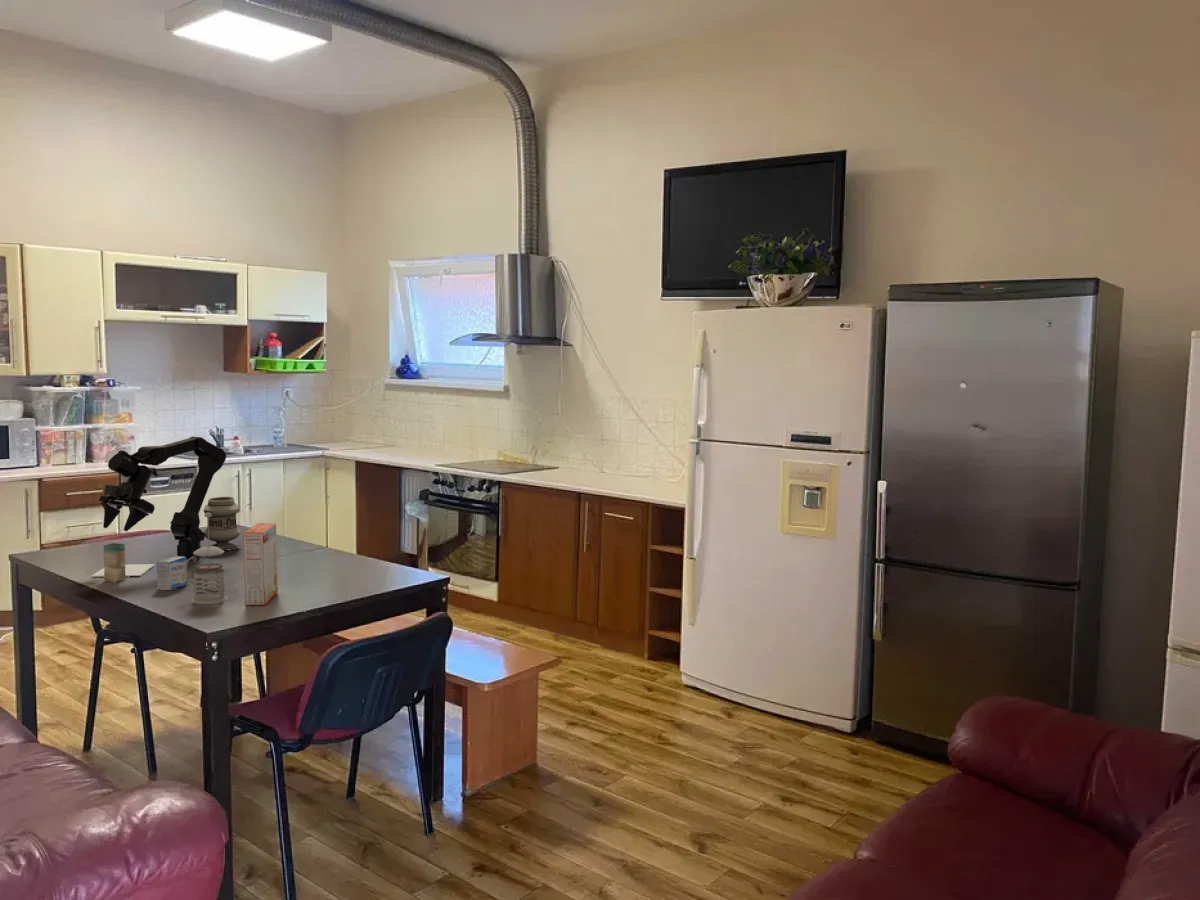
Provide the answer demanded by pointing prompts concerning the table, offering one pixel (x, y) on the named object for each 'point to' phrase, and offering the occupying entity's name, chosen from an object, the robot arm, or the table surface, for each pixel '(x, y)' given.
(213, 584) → the french press
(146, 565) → the cream square tile
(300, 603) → the table surface
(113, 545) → the birch block
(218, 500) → the apothecary jar
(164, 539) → the table surface
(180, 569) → the medicine box
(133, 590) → the table surface
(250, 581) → the cracker box
